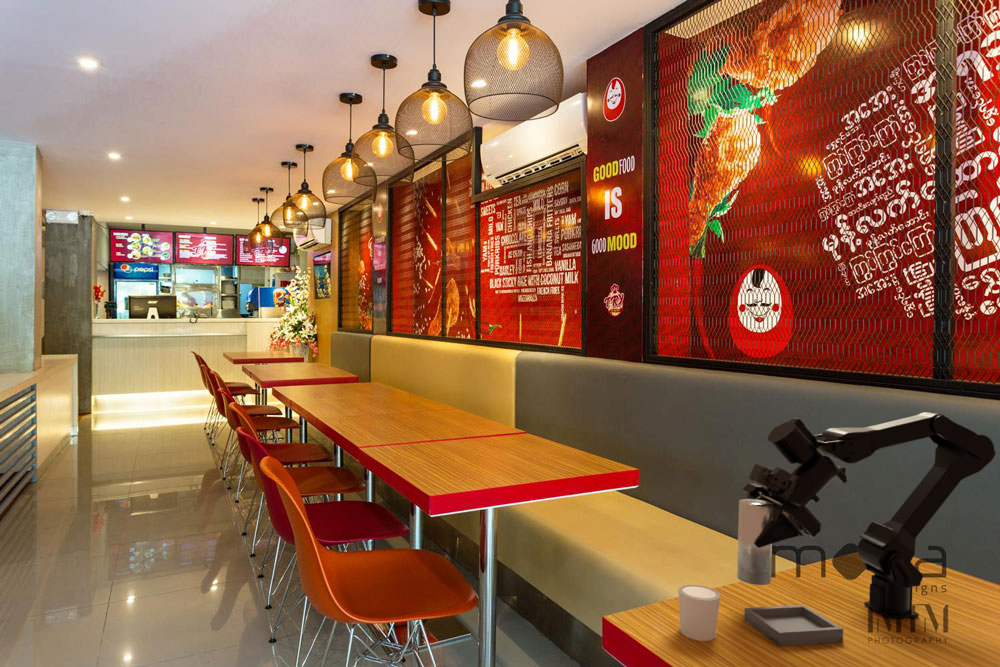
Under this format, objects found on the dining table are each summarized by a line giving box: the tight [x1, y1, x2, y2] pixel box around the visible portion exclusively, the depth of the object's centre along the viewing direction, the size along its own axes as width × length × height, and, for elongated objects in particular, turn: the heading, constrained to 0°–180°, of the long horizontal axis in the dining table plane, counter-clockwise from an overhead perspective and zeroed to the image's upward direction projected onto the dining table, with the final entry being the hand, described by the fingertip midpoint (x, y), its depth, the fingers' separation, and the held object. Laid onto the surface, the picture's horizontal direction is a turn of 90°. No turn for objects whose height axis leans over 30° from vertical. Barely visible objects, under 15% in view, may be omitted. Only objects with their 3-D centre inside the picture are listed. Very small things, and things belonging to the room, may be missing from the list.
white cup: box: [677, 584, 721, 642], centre depth 108 cm, size 7×7×7 cm
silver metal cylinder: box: [736, 498, 773, 586], centre depth 119 cm, size 6×6×14 cm
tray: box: [743, 604, 844, 647], centre depth 111 cm, size 12×10×2 cm
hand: (747, 540), depth 119 cm, fingers closed on silver metal cylinder, 6 cm apart
